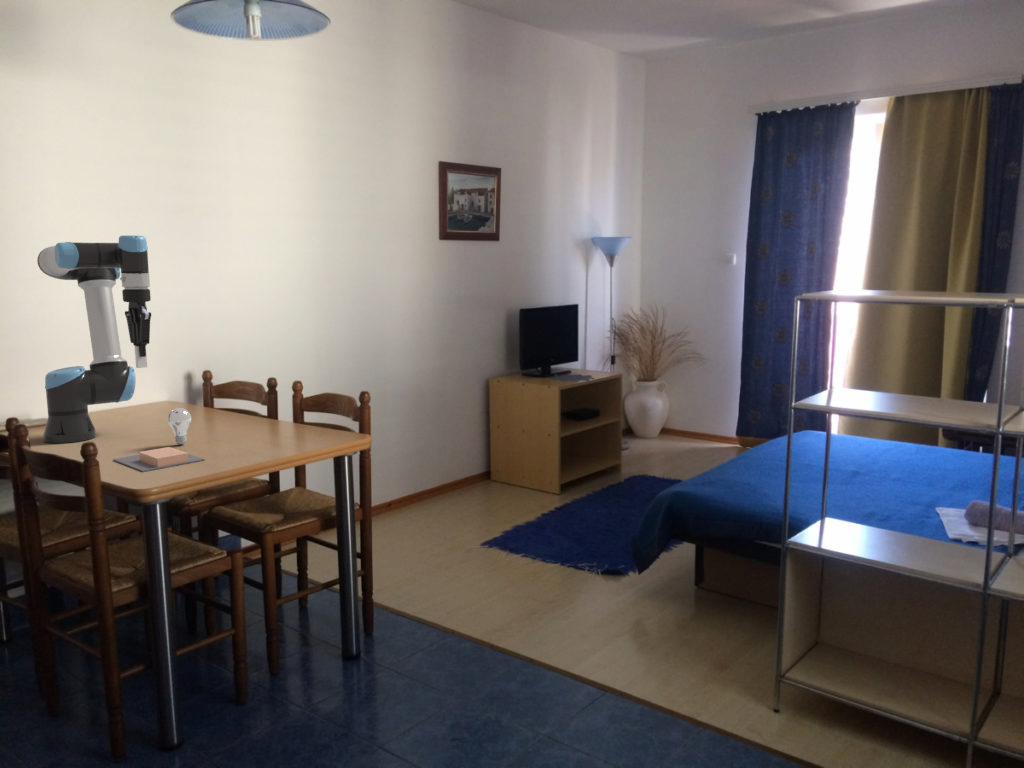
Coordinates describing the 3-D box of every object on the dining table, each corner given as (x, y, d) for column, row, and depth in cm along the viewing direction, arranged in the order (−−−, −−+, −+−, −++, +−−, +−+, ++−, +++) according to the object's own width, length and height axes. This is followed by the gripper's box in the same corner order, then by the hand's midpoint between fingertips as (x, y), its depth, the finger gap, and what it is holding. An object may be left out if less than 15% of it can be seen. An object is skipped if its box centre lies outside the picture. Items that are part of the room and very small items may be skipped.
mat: (113, 460, 241) (113, 459, 241) (173, 450, 254) (173, 448, 254) (143, 472, 228) (142, 470, 227) (204, 460, 241) (204, 459, 241)
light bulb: (172, 448, 256) (170, 410, 254) (167, 444, 262) (164, 407, 260) (195, 445, 260) (193, 408, 258) (189, 441, 266) (187, 405, 264)
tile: (138, 452, 239) (157, 458, 231) (169, 446, 245) (188, 453, 237) (139, 460, 239) (157, 467, 231) (169, 455, 246) (188, 461, 238)
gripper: (113, 288, 244) (119, 366, 248) (132, 289, 236) (138, 370, 239) (139, 287, 250) (144, 364, 253) (158, 288, 241) (163, 368, 245)
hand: (141, 367), depth 246 cm, fingers closed
